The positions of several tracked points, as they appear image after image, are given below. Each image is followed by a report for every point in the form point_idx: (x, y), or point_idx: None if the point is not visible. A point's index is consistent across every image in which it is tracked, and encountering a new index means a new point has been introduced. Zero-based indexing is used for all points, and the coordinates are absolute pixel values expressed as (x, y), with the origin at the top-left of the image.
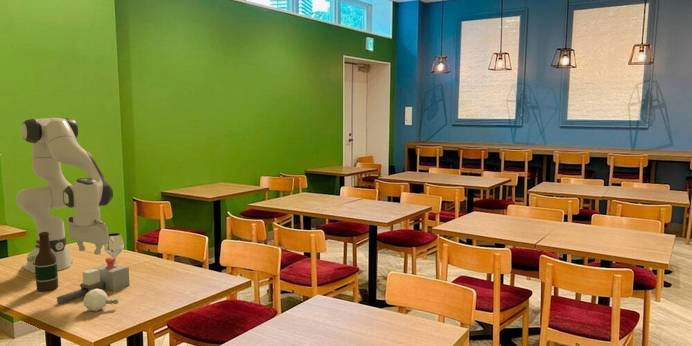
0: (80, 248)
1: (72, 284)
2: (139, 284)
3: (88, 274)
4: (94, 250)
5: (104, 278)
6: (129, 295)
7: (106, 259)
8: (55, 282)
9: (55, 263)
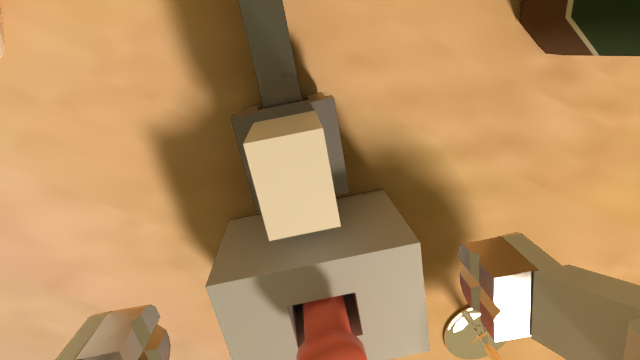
0: (499, 258)
1: (515, 129)
2: None
3: (245, 142)
4: (110, 348)
5: (293, 237)
6: (97, 243)
7: (336, 352)
8: (549, 21)
9: None
